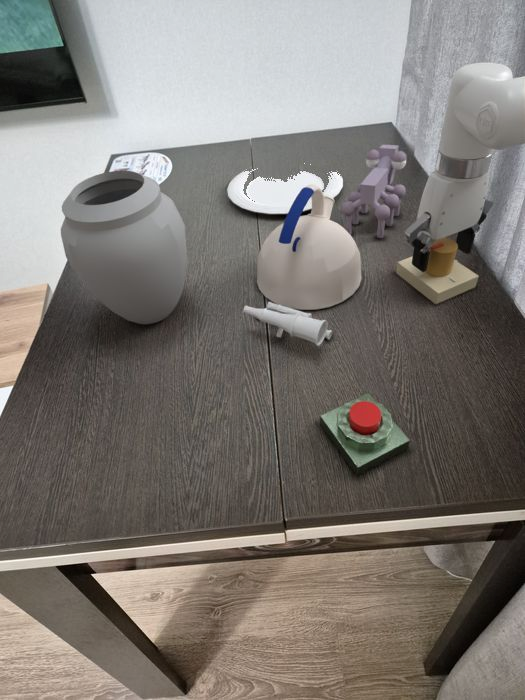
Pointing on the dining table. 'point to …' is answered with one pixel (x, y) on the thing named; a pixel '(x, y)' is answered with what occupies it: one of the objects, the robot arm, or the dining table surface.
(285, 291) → the kettle
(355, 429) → the button
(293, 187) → the plate
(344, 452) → the switch block
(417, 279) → the dimmer panel
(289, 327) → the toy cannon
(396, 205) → the lavender toy animal
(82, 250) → the vase
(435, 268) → the dimmer knob
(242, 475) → the dining table surface
